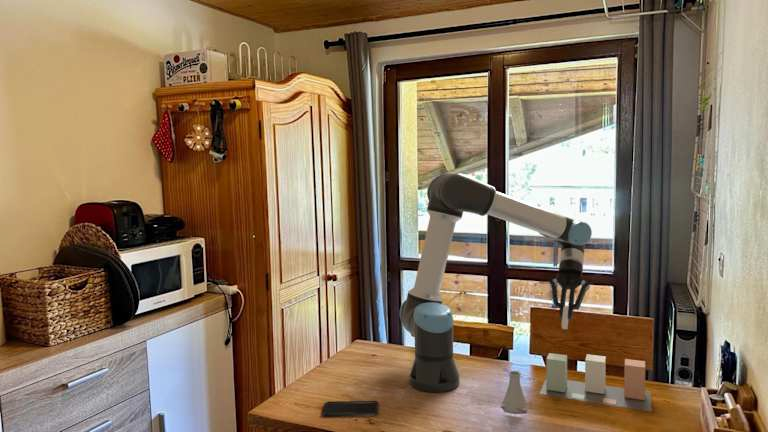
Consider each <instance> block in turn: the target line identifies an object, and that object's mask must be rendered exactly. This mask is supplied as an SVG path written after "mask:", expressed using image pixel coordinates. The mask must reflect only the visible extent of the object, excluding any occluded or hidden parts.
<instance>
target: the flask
mask: <svg viewBox="0 0 768 432" xmlns="http://www.w3.org/2000/svg"><path fill="white" fill-rule="evenodd" d="M508 375H509V381H508V387H507V389H506V393H505V395H504V397H503V400H502V404H503V405H504V406H503V405H501V406H500V408H501V409H502V410H503V411H504V412H505V413H511V414H517V415H518V414H519V415H520V414H526V413H527V412H528V410H526V409H525V408H526V407H527V405H528V403H527V401H526V398H525V395H524V393H523V392H524V391H523V389H522V386H521V379H520V377H521V375H522V373H521V372H520V371H518V370H509V371H508Z"/></svg>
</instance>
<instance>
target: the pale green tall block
mask: <svg viewBox="0 0 768 432" xmlns="http://www.w3.org/2000/svg"><path fill="white" fill-rule="evenodd" d="M545 361H546V365H545V366H546V368H545V372H546V378H545V379H546V390H552V391H559V392H565V391H566V388H567V380H568V355H567V354H559V353H551V352H549V353H548V355H547V356H546V360H545Z"/></svg>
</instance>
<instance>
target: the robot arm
mask: <svg viewBox="0 0 768 432" xmlns="http://www.w3.org/2000/svg"><path fill="white" fill-rule="evenodd" d="M426 194H427V195H426V196H427V198H428V199H427V200H428V204H427V209H426V212H427V214H428V215H429V219H428V220H429V221H428V224H427V229H426V234H425V237H424V242H423V246H422V252H421V255H420V258H419V259H420V260H419V263H418V269H417V272H416V277H415V282H414V285H413V286H414V287H413V288H411V289H409V290H408V291H407V297H406V299H405V300H404V301H403V302H402V303H401V305H400V308H399V319H400V322H401V325H402V326H403V327H404V329H405V330H406V331H407V332H408V333H409V334H411V336H412V337H413V338H414V360H413V363H412V366H411V370H410V373H409V385H410V386H411V387H413V388H414V389H416V390H417V391H422V392H427V393H444V392H449V391H452V390H454V389H456V388H458V387H459V386H460V373H459V371H458V368H457V364H456V362H455V358H454V317H453V311H452V309H451V308H450V307H449V306H447V305H445V304H443V297H442V296H441V293H440V292H441V288H442V285H443V284H442V283H443V280H444V275H445V272H446V267H447V262H448V257H449V253H450V249H451V244H452V241H453V236H454V231H455V227H456V223H457V222H459V221H460V220H462V219H463V218H462V217H463V214H464V212H465V213H471V214H475V215H478V216H481V217H485V216H486V215H488V216H491V217H494V218H497V219H500V220H503V221H506V222H508V223H512V224H514V225H517V226H519V227H522V228H525V229H528V230H531V231H534V232H537V233H538V234H539V235H541V236H543V237H545V238H546V239H547V240H550V241H551V242H552V243H554V244H555V245H558V246H559V247H560V256H559V264H558V272H557V273H558V274H557V275H555V276H556V277H555V278H553V279H552V278H549V279H548V283H549V286H550V288H551V290H552V297H553V302H554V307H555V309H559V313H558V317H559V319H561V329H562V330H568V325H569V320H572V319H573V313H574V312H573V311H574V310H575V311H576V310H577V311H579V310H580V307H581V305H582V302H583V300H584V298H585V295H586V292H587V291H588V290H589V289H590V288H591V286H590V285H591V284H590V281H586V280H584V277H583V269H584V262H585V261H584V260H585V248H586V244H587V243H589V241H590V240H591V238H592V233H593V231H592V228H591V226H590V225H589V223H587V222H584V221H582V220H576V219H572V218H571V217H567V216H564V215H562V214H559V213H556V212H554V211H552V210H549V209H545V208H543V207H540V206H537V205H535V204H533V203H529V202H526V201H523V200H522V199H518V198H515V197H513V196H510V195H507V194H505V193H502V192H500V191H497V190H496V188H495V187H494V186H493V185H490V184H487V183H485V182H482V181H480V180H478V179H476V178H474V177H472V176H470V175H468V174H465V173H464V174H463V173H445V172H444V173H442V174H439V175H436V176H435V177H434V178H433V179H431V181H430V182H429V183H428V185H427V190H426ZM557 285H559V286H560V287H561V293H560V302H559V298H558V293H557V287H556V286H557ZM580 286H581V287H580ZM579 287H580V289H579V293H578V294H577V298H576V300H575V294H576V290H577V289H578V288H579ZM568 290H569V299H568V306H566V301H567V299H566V298H567V293H568Z"/></svg>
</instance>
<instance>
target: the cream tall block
mask: <svg viewBox="0 0 768 432" xmlns="http://www.w3.org/2000/svg"><path fill="white" fill-rule="evenodd" d="M606 358H607V356H604V355H595V354H588V353H587V354H586V356H585V360H584V361H585V362H584V364H585V365H584V367H585V368H584V371H585V372H584V382H585V391H587V392H594V393H601V394H604V393H605V386H606V371H607V370H606V369H607V368H606V367H607V365H606V363H607V362H606V361H607V360H606Z"/></svg>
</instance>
